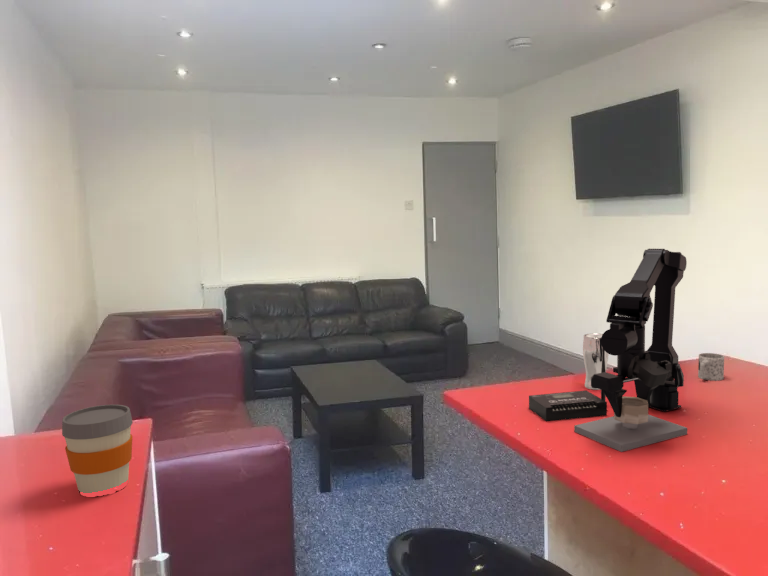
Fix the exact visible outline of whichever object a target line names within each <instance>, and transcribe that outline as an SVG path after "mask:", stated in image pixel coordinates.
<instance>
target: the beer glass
mask: <svg viewBox="0 0 768 576" xmlns="http://www.w3.org/2000/svg"><path fill="white" fill-rule="evenodd" d="M602 335H603V333H586V334H584V335H583V340H582V341H583V343H582V355H583V362H584V367H585V381H584V387H585V388H586V389H589V390H593V391H601V389H598V388H595V387H592V386H591V377H592V376H593V375H594V374H598V373H601V368H602V346H601V337H602ZM609 356H610V354H608V353H607V352H605V369H606V370H607V366H608V361H609Z"/></svg>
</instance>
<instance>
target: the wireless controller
mask: <svg viewBox="0 0 768 576" xmlns="http://www.w3.org/2000/svg"><path fill="white" fill-rule="evenodd" d="M603 372H607V368H606V369H605V351H604V349H603V348H602V368H601V373H603ZM606 398H607V397H606V395H605V394H604V392H603V390H600V397H599V396H597V395H595V394H593V393H591V392H590V391H588V390H576V391H565V392H553V393H544V394H543V393H541V394H532V395H531V394H530V395H528V409H529V410H530V411H531V412H533V413H534V414H536V415H537V416H538V417H539V418H540V419H542V420H543V421H545V422H554V421H555V422H557V421H564V420H565V421H567V420H574V419H575V420H576V419H584V418H596V417H597V418H598V417H606V416H608V415H607V414H608V413H607V412H608V401H606Z"/></svg>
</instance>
